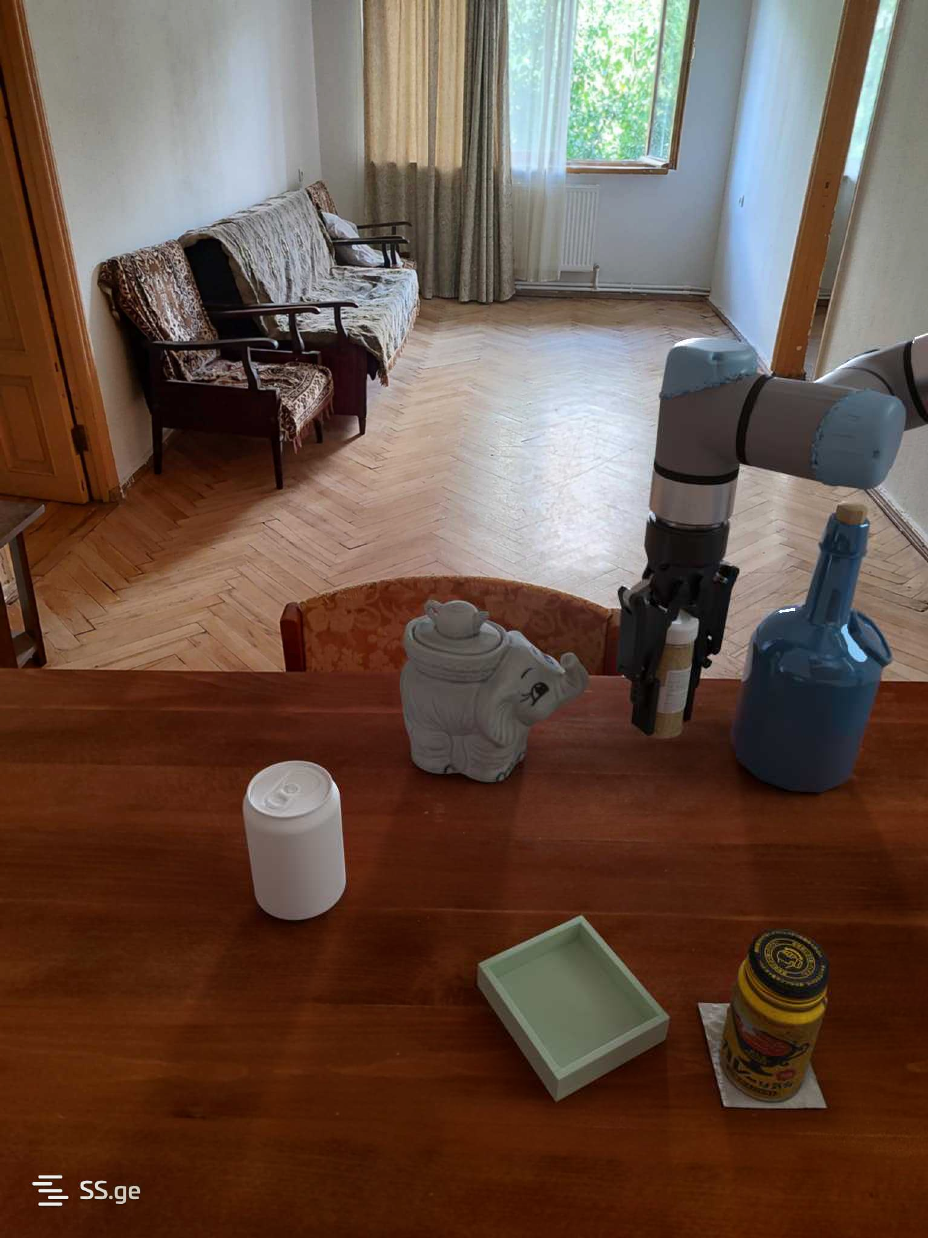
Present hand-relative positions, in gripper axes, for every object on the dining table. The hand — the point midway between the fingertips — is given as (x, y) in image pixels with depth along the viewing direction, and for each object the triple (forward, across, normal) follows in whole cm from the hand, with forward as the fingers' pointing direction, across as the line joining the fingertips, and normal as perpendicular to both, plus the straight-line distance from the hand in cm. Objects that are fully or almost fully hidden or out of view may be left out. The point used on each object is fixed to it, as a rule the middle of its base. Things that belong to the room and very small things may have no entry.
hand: (660, 721), depth 93 cm
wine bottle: (+6, -14, +6) cm, 17 cm away
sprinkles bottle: (+1, 0, 0) cm, 1 cm away
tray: (+6, +26, +20) cm, 33 cm away
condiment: (+7, +15, +30) cm, 34 cm away
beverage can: (+6, +40, -2) cm, 40 cm away
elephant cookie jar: (+6, +15, -10) cm, 19 cm away
